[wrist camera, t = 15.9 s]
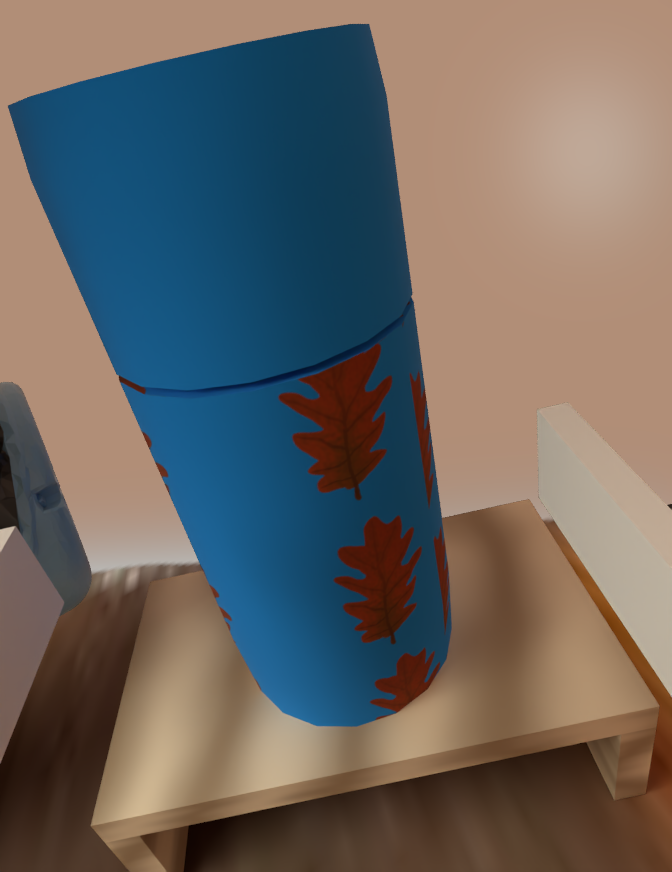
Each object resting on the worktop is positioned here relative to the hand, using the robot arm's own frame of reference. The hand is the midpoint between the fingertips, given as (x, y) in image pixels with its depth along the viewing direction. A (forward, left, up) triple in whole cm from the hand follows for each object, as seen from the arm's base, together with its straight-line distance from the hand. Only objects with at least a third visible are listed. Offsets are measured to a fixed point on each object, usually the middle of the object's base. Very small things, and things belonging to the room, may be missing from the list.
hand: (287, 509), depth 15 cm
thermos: (-5, +7, -15) cm, 18 cm away
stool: (-4, +7, -22) cm, 24 cm away
